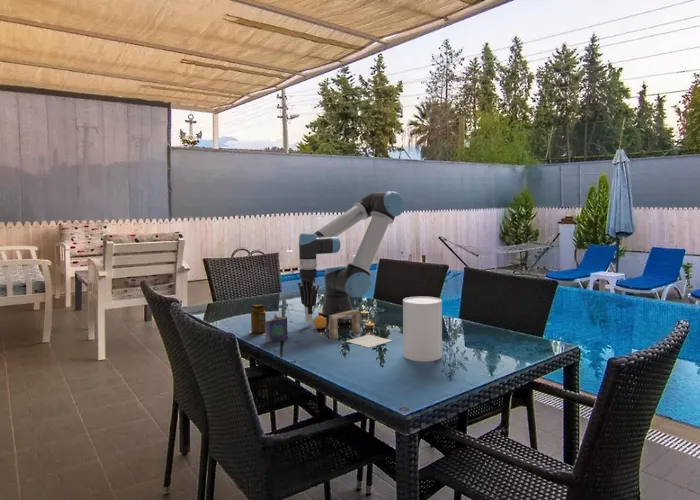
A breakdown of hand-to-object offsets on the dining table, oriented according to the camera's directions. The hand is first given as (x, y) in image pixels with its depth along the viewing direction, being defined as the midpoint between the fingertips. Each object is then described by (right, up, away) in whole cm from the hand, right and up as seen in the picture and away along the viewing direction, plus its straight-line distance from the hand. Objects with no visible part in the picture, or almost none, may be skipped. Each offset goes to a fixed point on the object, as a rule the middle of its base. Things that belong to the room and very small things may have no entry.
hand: (308, 321), depth 231 cm
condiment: (-20, -4, -11) cm, 23 cm away
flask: (-11, -5, -24) cm, 27 cm away
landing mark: (+26, -4, -27) cm, 37 cm away
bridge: (+16, -4, -16) cm, 23 cm away
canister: (+44, -6, -46) cm, 64 cm away
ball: (+5, 0, -5) cm, 7 cm away
